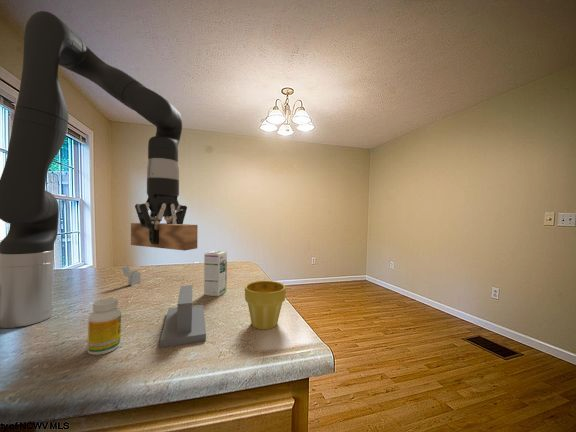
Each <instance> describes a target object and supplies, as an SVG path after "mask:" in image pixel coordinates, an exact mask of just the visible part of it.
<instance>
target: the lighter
mask: <svg viewBox="0 0 576 432" xmlns="http://www.w3.org/2000/svg"><path fill="white" fill-rule="evenodd" d="M120 268H121V271H122V273H123V275H124V277H127V281H128V282H127V286H128V285H131V286H130V287H133V286H136V285H139V284H141V273H142V272H141V271H138V270H137V269H134V270H131V269H130V267H129V265H127V264H126V265H125V264H124V265H122V266H121V267H120ZM138 283H139V284H138ZM135 284H136V285H135ZM132 285H133V286H132Z"/></svg>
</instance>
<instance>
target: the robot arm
mask: <svg viewBox="0 0 576 432" xmlns="http://www.w3.org/2000/svg"><path fill="white" fill-rule="evenodd" d="M23 35H24V36H23V52H22V53H23V59H22V72H21V77H20V85H19V92H18V97H17V100H16V105H15V109H14V113H13V119H12V125H11V133H10V137H9V143H8V148H7V155H6V160H5V164H4V166H3V170H2V173H1V176H0V220H1V221H3V222H4V223H7V224H9V228H8V232H7V234H6V236H4V238H3V239H2V240H1V241H0V328H1V329H2V328H3V329H13V328H20V327H25V326H30V325H34V324H37V323H40V322H43V321H46V320H47V319H49V318H51V317H52V316H53V309H54V308H53V306H54V305H53V302H54V301H53V300H54V299H53V297H54V294H53V292H54V253H55V252H54V248H55V242H56V239H57V237H58V230H59V218H60V217H59V214H60V210H59V206H60V205H59V202H58V199H57V198H56V197H55V195H54V194H52V193H51V192H50V191H47V190H46V186H47V185H46V184H47V176H48V171H49V169H50V167H51V165H52V163H53V161H54V159H55V158H56V157H57V155H58V153H59V151H60V150H61V148H62V147H63V145H64V143H65V140H66V135H67V130H68V125H69V110H68V107H67V103H66V100H65V97H64V94H63V91H62V89H61V85H60V80H59V66H60V67H63V68H64V69H66V70H69V71H70V72H73V73H75V74H77V75H79V76H81V77H84V78H85V79H87V80H89V81H90V82H93V83H94V84H95V85H96V86H98V87H100V88H101V89H102V90H103V91H104V92H106V93H107V94H108V95H110V96H111V97H113V98H114V99H115V100H116V101H119V103H121V104H123V105H124V106H126V107H128V108H129V109H130V110H132V111H134V112H136V113H137V114H138V115H140V117H142V118H143V119H145V120H146V121H147V122H149V123H150V124H152V125H153V126H155V127H156V131H155V136H152V137H150V138H149V140H148V143H147V164H146V166H147V167H146V194H147V199H146V202H143V203H136V204H135V205H134V207H135V211H136V213H137V218H138V220H139V223H140V224H141V226H142V227H145V228H148V229H149V241H150V242H151V244H154V245H156V244H159V230H157V229H158V228H159V224H160V223H161V222H162V221H163V218H164V221H165V222H166V224H184V221H185V216H186V214H187V209H188V206H187V205H183V204H180V203H179V200H178V197H179V195H180V168H179V167H180V166H179V144H180V140H181V136H182V132H183V119H182V114H181V113H180V111H179V109H177V108H176V107H175V106H174V105H173V104H172V103H170V102H169V101H168V100H167V99H166V98H165V97H163V96H162V95H161V94H159V93H158V92H156V91H154V90H151V89H150V88H148V87H146V86H145V85H144V84H142V83H141V82H140V81H139V80H137V79H136V78H134V77H132V76H131V75H129V74H128V73H127V72H124V71H123V70H121V69H120V68H117V67H115V66H112V65H109V64H108V63H106V62H105V61H104V60H102V59H101V58H100V57H99V56H98V55H96V54H95V53H94V52H93V50H91V49H90V48H89V47H88V46H87V45H86V44H85V43H84V41H83V40H82V39H81V37H79V35H77V34H76V33H75V31H73V30H72V29H71V28H70V27H69V25H67V24H66V23H65V22H64V21H62V19H60V18H59V17H58V16H57V15H55V14H53V13H52V12H49V11H46V10H45V11H44V10H40V11H36V12H33V14H31V16H30V17H29V18H28V20H27V21H26V24H25V28H24V33H23ZM149 210H150V211H149ZM149 212H150V213H149Z"/></svg>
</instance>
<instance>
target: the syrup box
mask: <svg viewBox="0 0 576 432" xmlns="http://www.w3.org/2000/svg"><path fill="white" fill-rule="evenodd" d="M227 254H228V253H227V251H224V250H212V251H210V252H205V253H204V257H203V260H204V262H203V263H204V265H203V268H204V270H203V295H205V296H210V297H212V296H213V297H220V296H221V295H222V294H224V293H225V292H227V277H228V276H227V269H228V268H227V263H228V262H227V261H228V260H227V259H228V255H227Z"/></svg>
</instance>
